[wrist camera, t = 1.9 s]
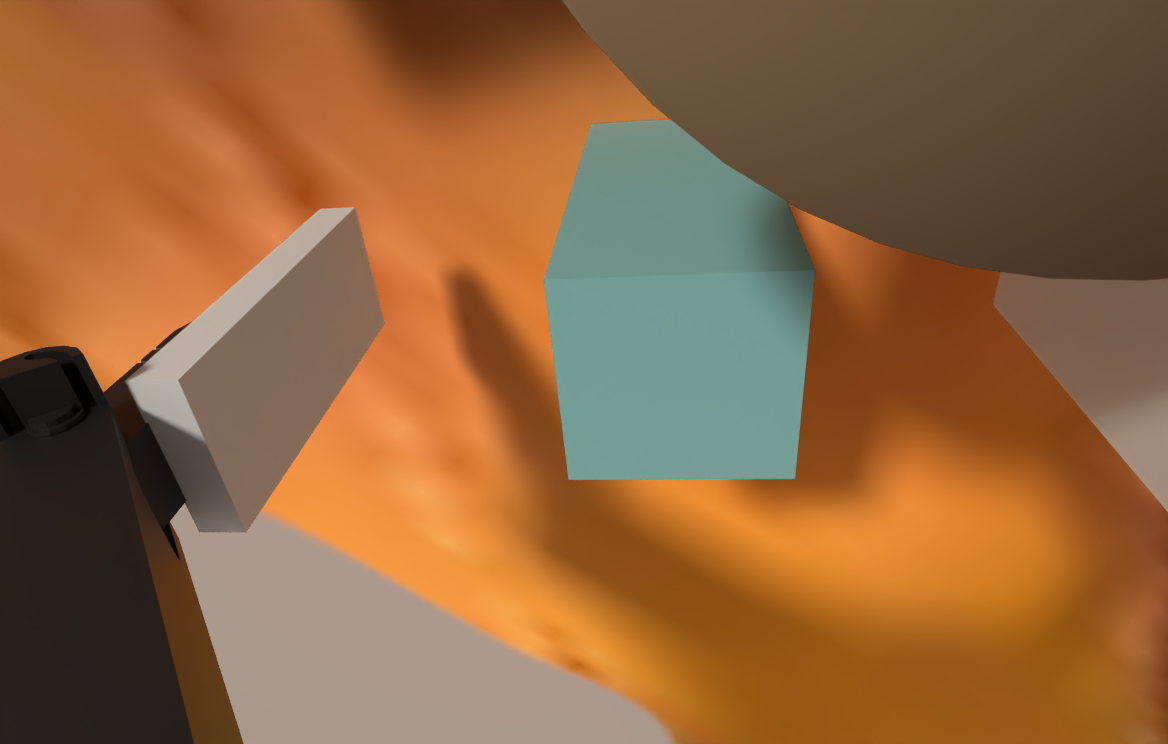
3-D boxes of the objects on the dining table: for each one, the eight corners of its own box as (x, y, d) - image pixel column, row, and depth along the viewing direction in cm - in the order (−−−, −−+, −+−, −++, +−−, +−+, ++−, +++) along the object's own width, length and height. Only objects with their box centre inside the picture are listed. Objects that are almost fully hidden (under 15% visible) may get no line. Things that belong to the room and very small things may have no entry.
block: (591, 124, 16) (544, 280, 10) (750, 113, 16) (815, 269, 9) (602, 267, 18) (568, 479, 12) (744, 261, 18) (795, 479, 11)
